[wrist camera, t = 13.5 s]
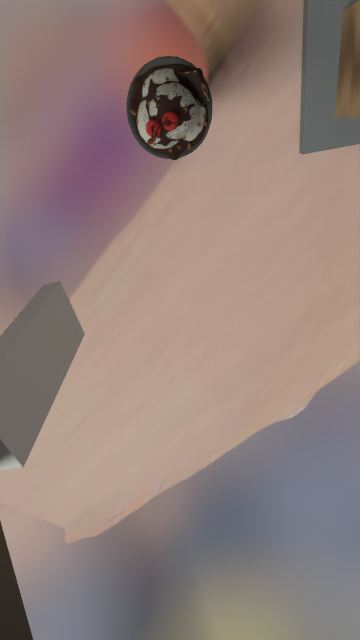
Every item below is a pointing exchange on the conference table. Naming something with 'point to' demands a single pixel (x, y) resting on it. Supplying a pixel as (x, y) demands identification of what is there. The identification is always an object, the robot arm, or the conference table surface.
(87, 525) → the conference table surface
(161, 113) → the sundae
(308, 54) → the post stand
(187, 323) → the conference table surface
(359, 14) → the collar
